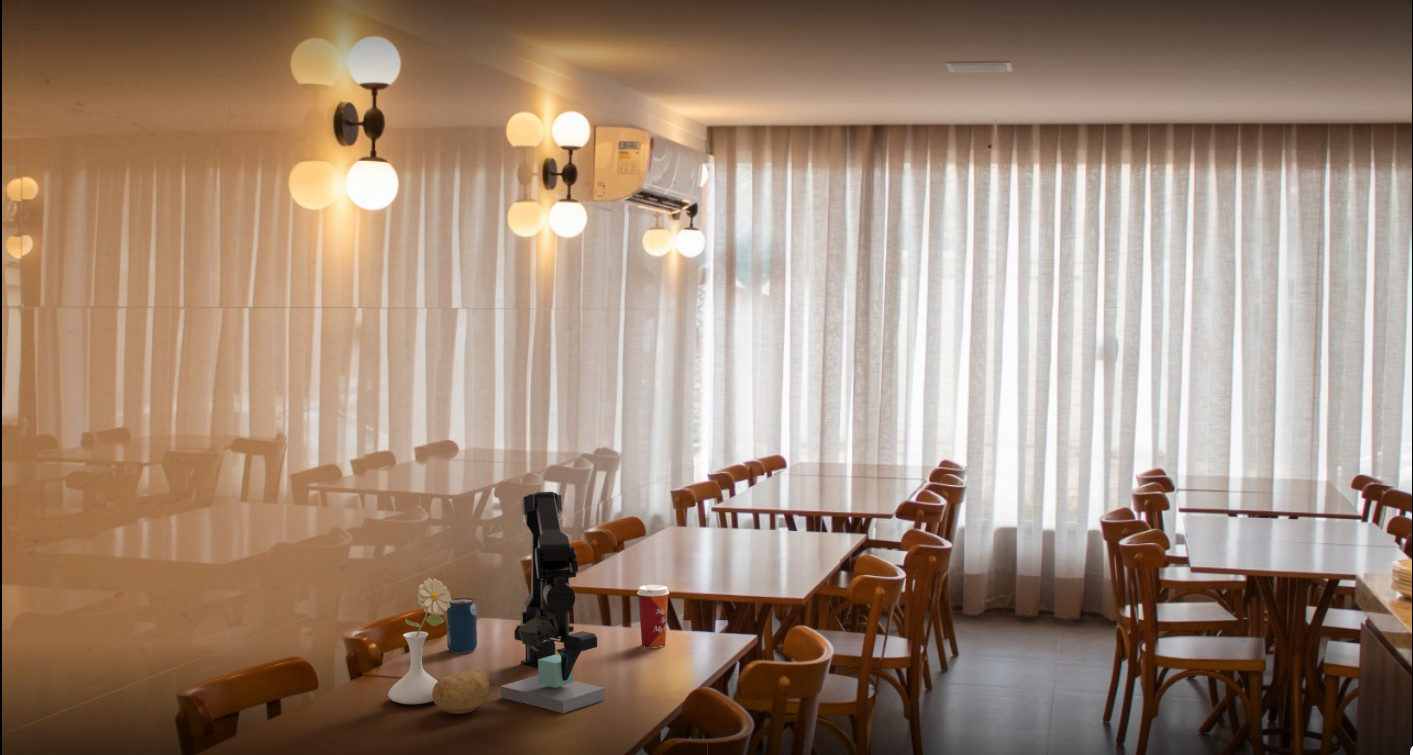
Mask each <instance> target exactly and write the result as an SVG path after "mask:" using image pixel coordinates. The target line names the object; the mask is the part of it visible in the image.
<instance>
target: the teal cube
mask: <svg viewBox="0 0 1413 755" xmlns="http://www.w3.org/2000/svg"><path fill="white" fill-rule="evenodd" d="M537 670H538V674H537V675H538V684H542V685H546V686H550V687H555V688H557V687H560V686H563V685H566V684H570V683H573V681H574V668H573V669H572V671H571V673H570V675H569V678H568V680H566V681H563V678H562V668H561V656H560V654H555V655H552V656H549V657H545V658H542V659H538V667H537Z"/></svg>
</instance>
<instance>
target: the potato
mask: <svg viewBox="0 0 1413 755" xmlns="http://www.w3.org/2000/svg"><path fill="white" fill-rule="evenodd" d="M437 681H438V682H437V683H436V684H435V686H434V687H433V691H432V697H433V700H434V701H433V703H434V704H435V705H436V706H437V707H438V708H439V710H441V711H443V712H445V713H448V714H454V715H456V714H457V715H462V714H468V713H472V712H473V711H475V710H476V709H477V708H478V707H479V706H481V705H482V704H483V703H484V702H485V699H486V698H487V695H488V692H489V690H490V685H491V682H490V677H489V676H488V673H486V672H485V671H483V670H481V669H473V668H472V669H468V670H465V671H459V672H456V673H452V674H450V675H447V676H445V677H442V678H440V680H437Z"/></svg>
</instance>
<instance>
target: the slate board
mask: <svg viewBox="0 0 1413 755" xmlns="http://www.w3.org/2000/svg"><path fill="white" fill-rule="evenodd" d="M605 690H606V688H605V687H602V686H599V685H595V684H589V683H585V682H581V681H576V680H573V683H570V684H566V685H563V686H560V687H557V688H555V687H550V686H546V685H542V684H538V674H537V675H533V676H531V677H528V678H524V679H520V680H517V681H514V682H513V681H512V682H510V683H508V684H507V683H506V684H504V685H501V686H500V699H502V698H504V699H503V700H506V699H509V700H508V701H510V700H513V701H512V702H514V701H518V702H522V703H526V704H530V705H534V706H539V707H542V708H546V709H549V710H548V711H550V710H553V711H552V712H555V711H556V712H555V713H559V712H560V713H559V714H563V713H564V714H567V713H570V712H572V710H573V711H575V709H576V710H579V709H581V707H582V708H585V707H588V706H591V705H594V704H597V703H599V702H602V701H605V700H606V696H605V695H606V693H605ZM518 702H517V703H518ZM522 703H521V704H522ZM526 704H525V705H526ZM530 705H529V706H530ZM587 705H588V706H587ZM534 706H533V707H534ZM584 706H585V707H584ZM542 708H541V709H542ZM578 708H579V709H578ZM546 709H545V710H546ZM569 711H570V712H569ZM566 712H567V713H566Z"/></svg>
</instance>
